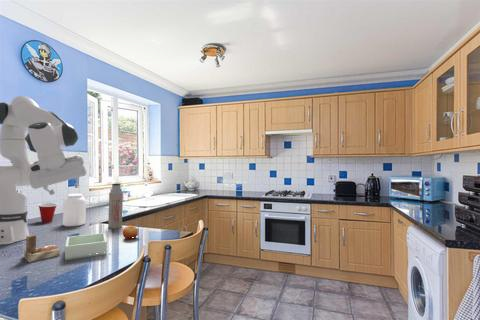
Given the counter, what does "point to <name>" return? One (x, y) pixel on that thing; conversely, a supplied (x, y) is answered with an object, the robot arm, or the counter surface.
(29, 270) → the counter surface
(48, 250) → the pebble
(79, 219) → the white jar
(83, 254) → the bin
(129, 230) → the fruit
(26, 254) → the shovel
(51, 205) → the plastic cup
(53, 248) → the pebble
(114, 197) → the thermos bottle
